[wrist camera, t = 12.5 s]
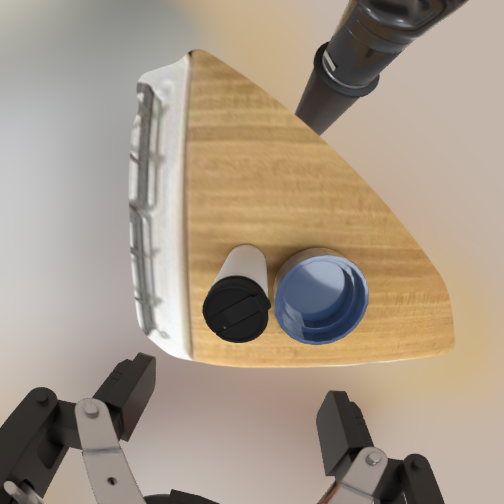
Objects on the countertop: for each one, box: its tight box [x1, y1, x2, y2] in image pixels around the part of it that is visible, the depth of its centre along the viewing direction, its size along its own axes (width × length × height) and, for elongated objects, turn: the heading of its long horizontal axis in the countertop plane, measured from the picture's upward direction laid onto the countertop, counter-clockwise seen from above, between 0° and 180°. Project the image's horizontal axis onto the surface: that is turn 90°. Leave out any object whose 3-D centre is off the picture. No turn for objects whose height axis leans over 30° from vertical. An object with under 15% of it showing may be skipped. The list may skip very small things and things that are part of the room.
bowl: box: [273, 247, 369, 345], centre depth 41 cm, size 14×14×6 cm
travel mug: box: [202, 244, 271, 343], centre depth 34 cm, size 6×7×20 cm
